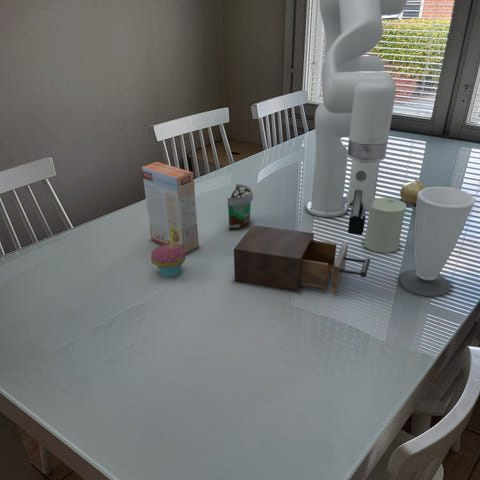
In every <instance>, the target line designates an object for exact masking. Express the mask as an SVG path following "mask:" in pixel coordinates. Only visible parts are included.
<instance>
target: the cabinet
mask: <svg viewBox="0 0 480 480" xmlns="http://www.w3.org/2000/svg"><path fill="white" fill-rule="evenodd" d="M314 239H315V233H314V232H309V231H301V230H293V229H285V228H278V227H270V226H264V225H258V224H257V225H256V224H252V225H251V226H250V228H249V229H248V230H247V231H246V233H245V234H244V235H243V237H241V239H240V240H239V242H237V244H236V245H235V247H234V248H233V271H234V273H233V274H234V282H235V283H241V284H248V285H254V286H258V287H264V288H265V287H266V288H269V289H270V288H271V289H276V290H282V291H288V292H294V293H299V292H300V290H301V288H302V286H303V285H300V271H301V260H302V258H303V256H304V254H305V252H306V250H307V249H308V247H309V245H310V243H311V241H312V240H314Z"/></svg>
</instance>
